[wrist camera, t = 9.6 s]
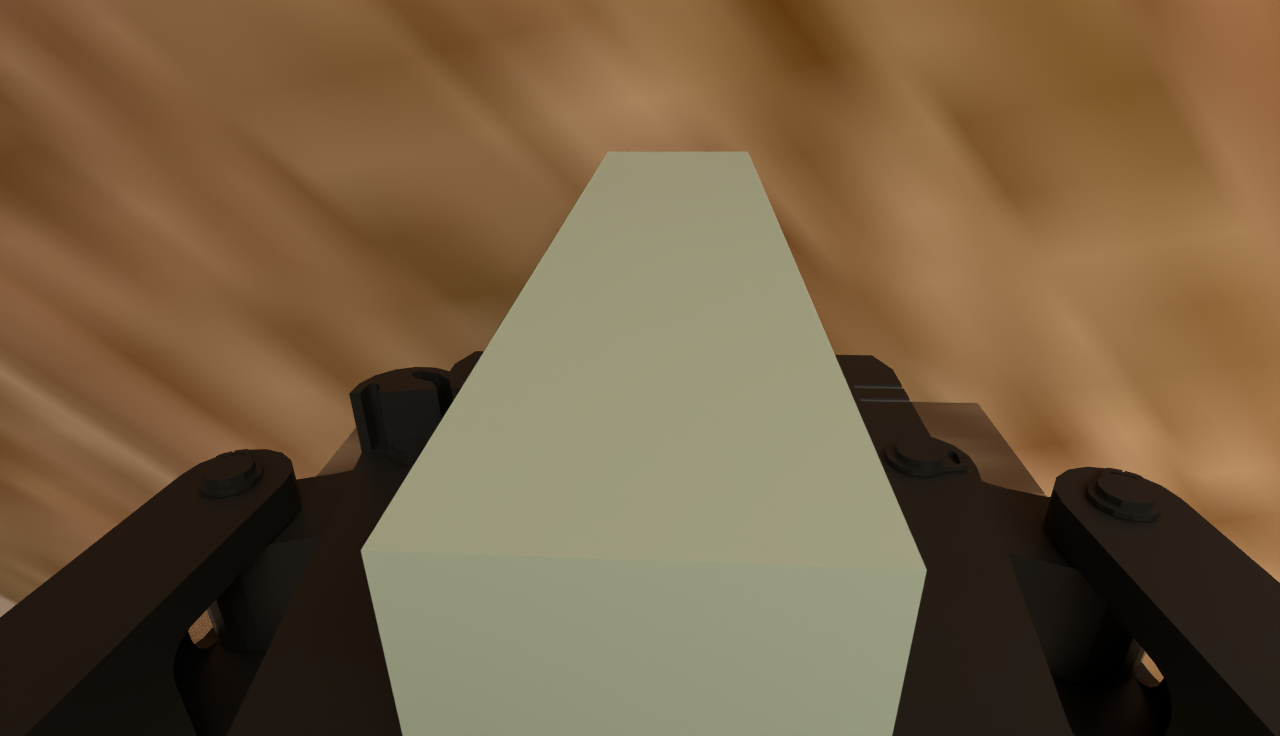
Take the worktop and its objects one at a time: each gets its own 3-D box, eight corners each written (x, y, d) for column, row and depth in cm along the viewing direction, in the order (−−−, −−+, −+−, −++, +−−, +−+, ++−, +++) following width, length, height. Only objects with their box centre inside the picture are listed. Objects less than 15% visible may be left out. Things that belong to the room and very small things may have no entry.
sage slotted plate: (719, 684, 22) (751, 1410, 11) (623, 679, 23) (550, 1389, 11) (747, 151, 15) (926, 569, 4) (608, 151, 16) (361, 550, 4)
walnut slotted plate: (399, 467, 21) (249, 700, 14) (385, 391, 20) (214, 602, 13) (960, 482, 20) (1110, 740, 13) (977, 403, 19) (1152, 638, 12)
